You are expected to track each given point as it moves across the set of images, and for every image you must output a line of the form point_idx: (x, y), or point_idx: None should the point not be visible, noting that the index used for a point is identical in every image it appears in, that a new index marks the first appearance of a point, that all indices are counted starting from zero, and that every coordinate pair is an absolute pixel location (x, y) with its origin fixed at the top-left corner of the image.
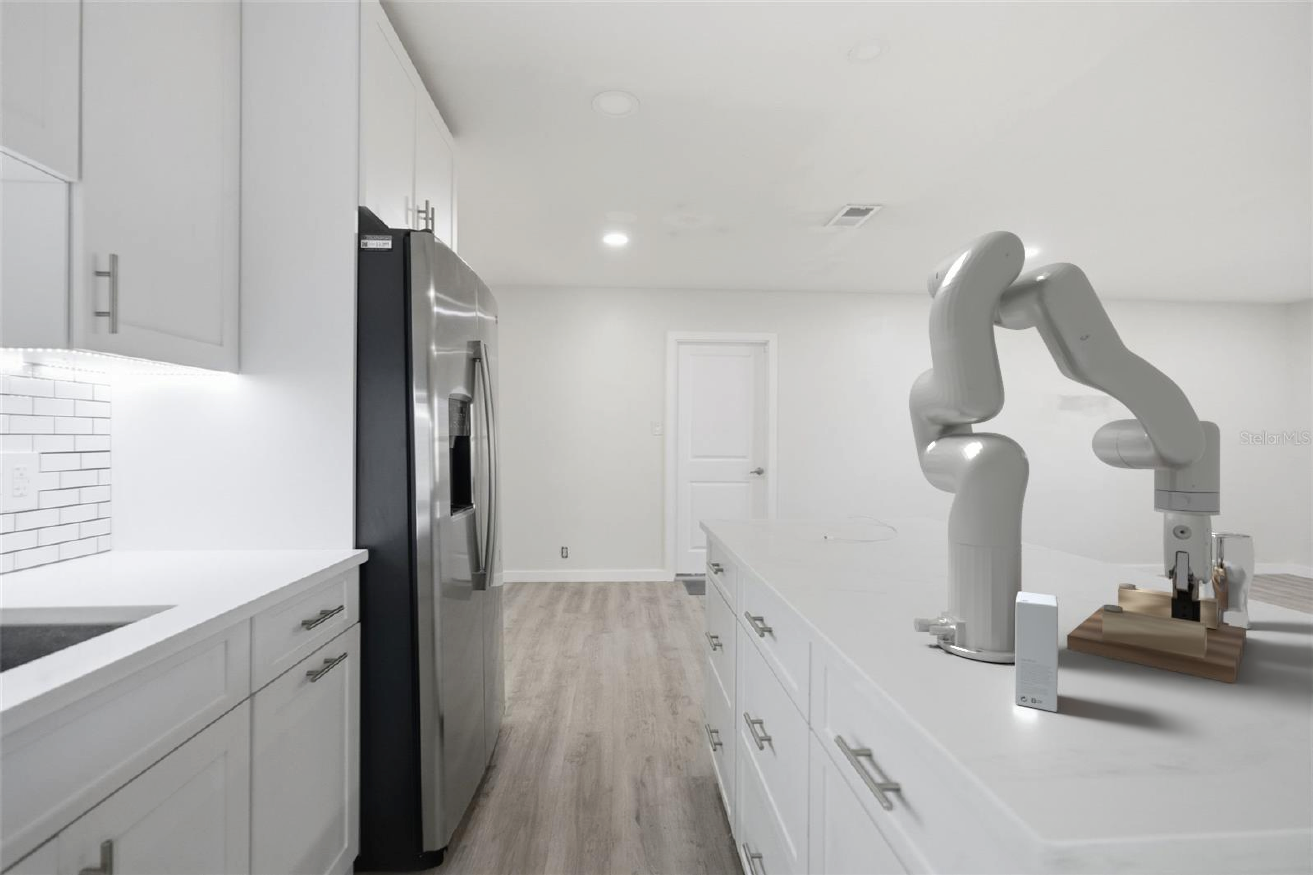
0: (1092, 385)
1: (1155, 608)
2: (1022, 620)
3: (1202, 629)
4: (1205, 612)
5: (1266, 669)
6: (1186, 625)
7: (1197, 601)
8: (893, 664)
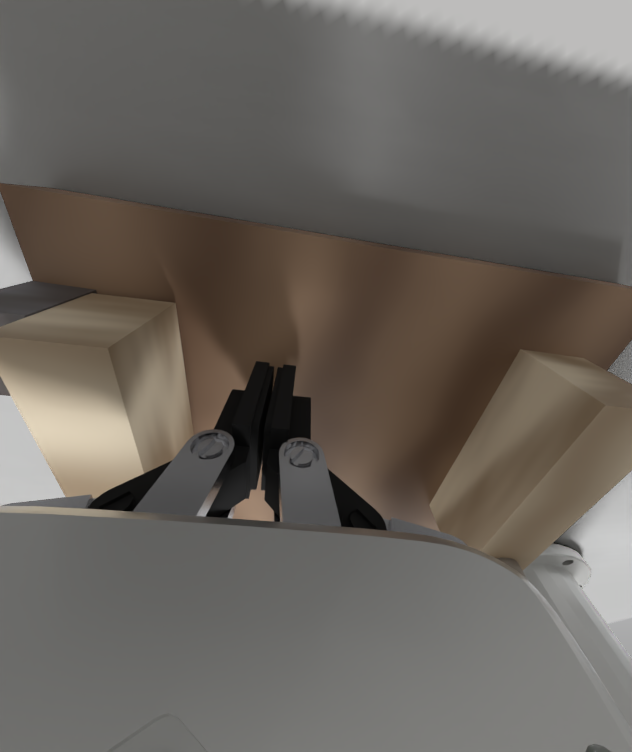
0: None
1: None
2: None
3: None
4: (152, 359)
5: (430, 173)
6: None
7: (278, 435)
8: (607, 609)
